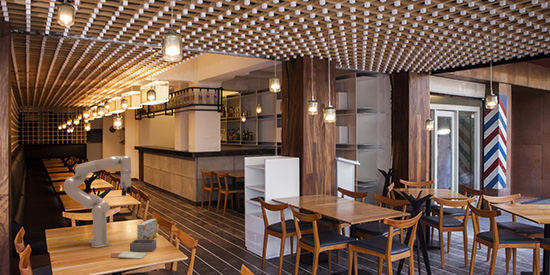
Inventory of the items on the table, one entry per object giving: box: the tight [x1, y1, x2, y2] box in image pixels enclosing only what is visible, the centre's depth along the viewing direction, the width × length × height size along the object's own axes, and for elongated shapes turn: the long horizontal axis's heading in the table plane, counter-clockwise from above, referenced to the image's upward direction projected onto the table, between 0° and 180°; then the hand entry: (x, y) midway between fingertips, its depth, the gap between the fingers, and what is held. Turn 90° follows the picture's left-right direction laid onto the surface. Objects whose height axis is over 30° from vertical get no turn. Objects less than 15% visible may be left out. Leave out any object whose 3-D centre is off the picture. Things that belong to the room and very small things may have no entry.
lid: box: [110, 250, 148, 260], centre depth 275 cm, size 23×11×3 cm, turn 89°
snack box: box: [136, 218, 158, 240], centre depth 315 cm, size 21×6×15 cm, turn 168°
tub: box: [129, 239, 157, 253], centre depth 290 cm, size 16×10×6 cm, turn 90°
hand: (126, 194), depth 304 cm, fingers open, 9 cm apart
